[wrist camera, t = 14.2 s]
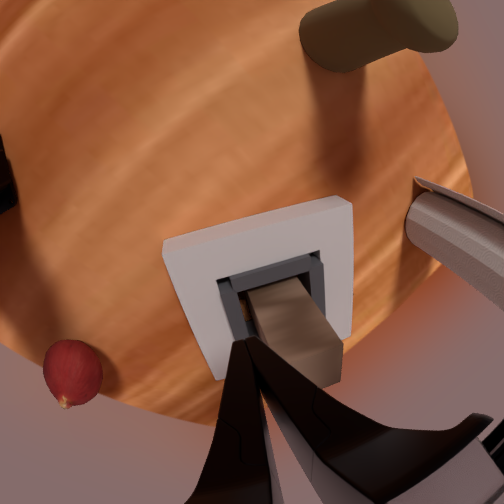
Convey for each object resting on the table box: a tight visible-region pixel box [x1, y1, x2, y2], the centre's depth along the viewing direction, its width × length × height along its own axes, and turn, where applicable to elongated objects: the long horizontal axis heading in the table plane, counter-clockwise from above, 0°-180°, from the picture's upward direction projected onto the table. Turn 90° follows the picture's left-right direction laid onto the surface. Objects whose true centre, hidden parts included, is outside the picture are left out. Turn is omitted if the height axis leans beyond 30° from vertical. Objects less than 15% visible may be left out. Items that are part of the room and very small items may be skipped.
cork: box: [299, 0, 458, 73], centre depth 11 cm, size 6×6×11 cm
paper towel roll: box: [405, 176, 504, 311], centre depth 16 cm, size 7×6×21 cm
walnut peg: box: [245, 275, 343, 389], centre depth 20 cm, size 4×4×10 cm
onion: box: [43, 340, 103, 409], centre depth 19 cm, size 6×6×8 cm
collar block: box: [162, 195, 354, 381], centre depth 23 cm, size 14×14×3 cm
